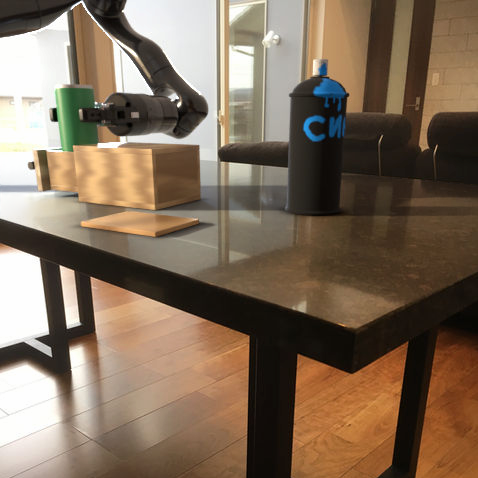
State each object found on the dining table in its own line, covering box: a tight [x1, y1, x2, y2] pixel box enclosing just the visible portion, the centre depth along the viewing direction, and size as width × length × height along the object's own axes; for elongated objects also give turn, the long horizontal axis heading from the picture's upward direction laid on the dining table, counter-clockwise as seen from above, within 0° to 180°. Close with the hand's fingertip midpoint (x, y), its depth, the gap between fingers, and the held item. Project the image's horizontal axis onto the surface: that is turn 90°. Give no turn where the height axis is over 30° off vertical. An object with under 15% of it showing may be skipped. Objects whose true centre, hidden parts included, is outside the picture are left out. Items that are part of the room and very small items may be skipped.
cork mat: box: [80, 210, 200, 238], centre depth 66 cm, size 12×9×1 cm
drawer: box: [27, 146, 78, 193], centre depth 89 cm, size 19×11×7 cm, turn 60°
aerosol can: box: [284, 58, 350, 216], centre depth 73 cm, size 8×8×20 cm
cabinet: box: [73, 141, 202, 211], centre depth 83 cm, size 16×12×9 cm
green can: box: [53, 83, 100, 152], centre depth 87 cm, size 6×6×16 cm
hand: (66, 115), depth 84 cm, fingers closed on green can, 6 cm apart
